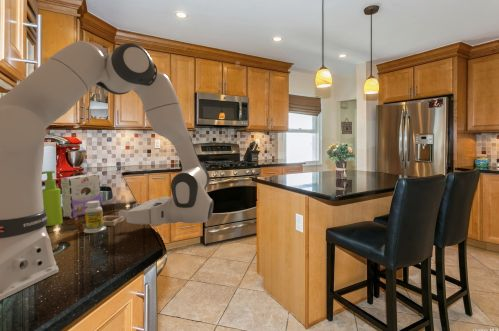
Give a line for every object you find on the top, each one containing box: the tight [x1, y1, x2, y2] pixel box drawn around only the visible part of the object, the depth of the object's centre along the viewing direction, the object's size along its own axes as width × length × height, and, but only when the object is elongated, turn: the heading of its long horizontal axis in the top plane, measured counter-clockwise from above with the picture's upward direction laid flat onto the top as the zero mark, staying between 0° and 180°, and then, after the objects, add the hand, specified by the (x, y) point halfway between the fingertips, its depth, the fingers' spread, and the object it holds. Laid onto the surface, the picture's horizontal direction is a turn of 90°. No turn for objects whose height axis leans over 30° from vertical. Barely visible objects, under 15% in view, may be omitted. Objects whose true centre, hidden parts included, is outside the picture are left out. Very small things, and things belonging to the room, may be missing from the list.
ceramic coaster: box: [82, 226, 107, 234], centre depth 101 cm, size 7×7×1 cm
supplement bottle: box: [84, 201, 104, 231], centre depth 101 cm, size 5×5×10 cm
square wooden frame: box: [103, 215, 126, 227], centre depth 110 cm, size 8×8×2 cm
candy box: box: [60, 173, 102, 219], centre depth 123 cm, size 14×6×16 cm, turn 155°
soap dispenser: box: [42, 170, 64, 227], centre depth 108 cm, size 6×7×20 cm
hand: (126, 209), depth 100 cm, fingers open, 8 cm apart
